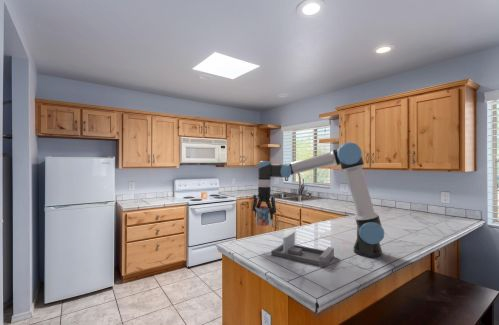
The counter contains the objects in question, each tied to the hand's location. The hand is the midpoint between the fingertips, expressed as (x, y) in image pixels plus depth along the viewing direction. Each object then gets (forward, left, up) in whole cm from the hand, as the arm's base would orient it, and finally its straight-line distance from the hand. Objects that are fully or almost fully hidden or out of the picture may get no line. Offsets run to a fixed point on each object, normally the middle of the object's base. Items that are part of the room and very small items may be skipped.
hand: (263, 223), depth 155 cm
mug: (-1, 0, -1) cm, 1 cm away
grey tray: (-25, 0, -15) cm, 29 cm away
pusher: (-20, 0, -14) cm, 24 cm away
